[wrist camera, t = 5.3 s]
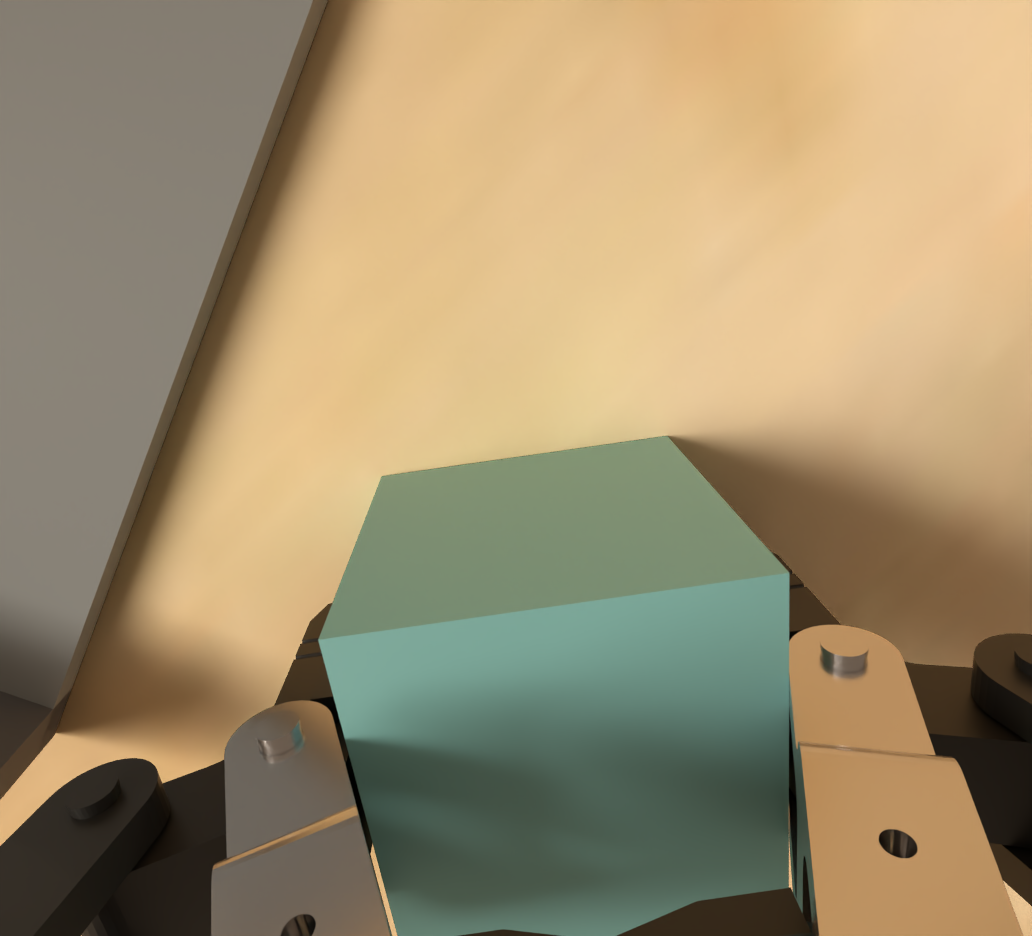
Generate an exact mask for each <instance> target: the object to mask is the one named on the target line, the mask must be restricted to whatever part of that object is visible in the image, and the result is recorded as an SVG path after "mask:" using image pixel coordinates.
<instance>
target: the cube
mask: <svg viewBox="0 0 1032 936" xmlns="http://www.w3.org/2000/svg"><path fill="white" fill-rule="evenodd" d="M318 641H319V645H320V649H321V652H322V656H323V660H324V663H325V667H326V671H327V675H328V678H329V682H330V686H331V690H332V693H333V697H334V701H335V704H336V708H337V712H338V716H339V719H340V723H341V727H342V731H343V734H344V738H345V742H346V745H347V749H348V753H349V757H350V760H351V764H352V768H353V771H354V775H355V779H356V783H357V786H358V790H359V794H360V798H361V801H362V805H363V809H364V812H365V816H366V820H367V824H368V827H369V831H370V835H371V839H372V842H373V846H374V850H375V853H376V857H377V861H378V865H379V868H380V872H381V876H382V879H383V883H384V887H385V891H386V894H387V898H388V902H389V906H390V909H391V913H392V917H393V920H394V924H395V928H396V932H397V935H398V936H459V935H466V934H473V933H480V932H487V931H494V930H501V929H507V930H515V931H524V932H533V933H541V934H550V935H559V936H617V935H619V934H622V933H624V932H626V931H629V930H631V929H633V928H636V927H638V926H640V925H643V924H645V923H647V922H649V921H652V920H654V919H656V918H659V917H661V916H663V915H666V914H668V913H670V912H673V911H675V910H677V909H680V908H682V907H684V906H687V905H689V904H691V903H694V902H696V901H701V900H708V899H715V898H722V897H728V896H735V895H742V894H749V893H756V892H763V891H770V890H777V889H784V888H789V572H788V571H787V570H786V568H785V567H784V566H783V565H782V564H781V563H780V562H779V561H778V560H777V558H776V557H775V556H774V555H773V554H772V553H771V552H770V551H769V549H768V548H767V547H766V546H765V545H764V544H763V543H762V542H761V540H760V539H759V538H758V537H757V536H756V535H755V534H754V533H753V532H752V530H751V529H750V528H749V527H748V526H747V525H746V524H745V523H744V521H743V520H742V519H741V518H740V517H739V516H738V515H737V514H736V512H735V511H734V510H733V509H732V508H731V507H730V506H729V505H728V503H727V502H726V501H725V500H724V499H723V498H722V497H721V496H720V495H719V493H718V492H717V491H716V490H715V489H714V488H713V487H712V486H711V484H710V483H709V482H708V481H707V480H706V479H705V478H704V477H703V475H702V474H701V473H700V472H699V471H698V470H697V469H696V468H695V467H694V465H693V464H692V463H691V462H690V461H689V460H688V459H687V458H686V456H685V455H684V454H683V453H682V452H681V451H680V450H679V449H678V447H677V446H676V445H675V444H674V443H673V442H672V441H671V440H670V438H669V437H668V436H662V437H655V438H648V439H641V440H634V441H627V442H620V443H613V444H606V445H599V446H592V447H585V448H578V449H571V450H564V451H557V452H550V453H543V454H535V455H528V456H521V457H514V458H507V459H500V460H493V461H486V462H479V463H472V464H465V465H458V466H451V467H444V468H437V469H430V470H423V471H416V472H409V473H401V474H394V475H387V476H382V477H381V480H380V482H379V485H378V488H377V490H376V493H375V495H374V498H373V500H372V503H371V506H370V508H369V511H368V513H367V516H366V518H365V521H364V524H363V526H362V529H361V531H360V534H359V536H358V539H357V542H356V544H355V547H354V549H353V552H352V554H351V557H350V559H349V562H348V565H347V567H346V570H345V572H344V575H343V577H342V580H341V583H340V585H339V588H338V590H337V593H336V595H335V598H334V601H333V603H332V606H331V608H330V611H329V613H328V616H327V619H326V621H325V624H324V626H323V629H322V631H321V634H320V637H319V639H318Z"/></svg>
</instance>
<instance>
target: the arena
mask: <svg viewBox="0 0 1032 936" xmlns="http://www.w3.org/2000/svg"><path fill="white" fill-rule="evenodd" d="M327 1H328V0H0V799H1V798H2V797H3V796H4V795H5V793H6V792H7V791H8V790H9V789H10V788H11V786H12V785H13V784H14V783H15V782H16V780H17V779H18V778H19V777H20V776H21V774H22V773H23V772H24V771H25V770H26V768H27V767H28V766H29V765H30V764H31V762H32V761H33V760H34V759H35V758H36V756H37V755H38V754H39V753H40V752H41V751H42V749H43V748H44V747H45V746H46V745H47V743H48V742H49V741H50V740H51V739H52V737H53V736H54V735H55V732H56V729H57V727H58V724H59V721H60V719H61V716H62V713H63V711H64V708H65V705H66V703H67V700H68V697H69V695H70V692H71V689H72V686H73V684H74V681H75V678H76V676H77V673H78V670H79V668H80V665H81V662H82V660H83V657H84V654H85V652H86V649H87V646H88V643H89V641H90V638H91V635H92V633H93V630H94V627H95V625H96V622H97V619H98V617H99V614H100V611H101V609H102V606H103V603H104V600H105V598H106V595H107V592H108V590H109V587H110V584H111V582H112V579H113V576H114V574H115V571H116V568H117V566H118V563H119V560H120V557H121V555H122V552H123V549H124V547H125V544H126V541H127V539H128V536H129V533H130V531H131V528H132V525H133V523H134V520H135V517H136V515H137V512H138V509H139V506H140V504H141V501H142V498H143V496H144V493H145V490H146V488H147V485H148V482H149V480H150V477H151V474H152V472H153V469H154V466H155V463H156V461H157V458H158V455H159V453H160V450H161V447H162V445H163V442H164V439H165V437H166V434H167V431H168V429H169V426H170V423H171V420H172V418H173V415H174V412H175V410H176V407H177V404H178V402H179V399H180V396H181V394H182V391H183V388H184V386H185V383H186V380H187V377H188V375H189V372H190V369H191V367H192V364H193V361H194V359H195V356H196V353H197V351H198V348H199V345H200V343H201V340H202V337H203V335H204V332H205V329H206V326H207V324H208V321H209V318H210V316H211V313H212V310H213V308H214V305H215V302H216V300H217V297H218V294H219V292H220V289H221V286H222V283H223V281H224V278H225V275H226V273H227V270H228V267H229V265H230V262H231V259H232V257H233V254H234V251H235V249H236V246H237V243H238V240H239V238H240V235H241V232H242V230H243V227H244V224H245V222H246V219H247V216H248V214H249V211H250V208H251V206H252V203H253V200H254V197H255V195H256V192H257V189H258V187H259V184H260V181H261V179H262V176H263V173H264V171H265V168H266V165H267V163H268V160H269V157H270V154H271V152H272V149H273V146H274V144H275V141H276V138H277V136H278V133H279V130H280V128H281V125H282V122H283V120H284V117H285V114H286V112H287V109H288V106H289V103H290V101H291V98H292V95H293V93H294V90H295V87H296V85H297V82H298V79H299V77H300V74H301V71H302V69H303V66H304V63H305V60H306V58H307V55H308V52H309V50H310V47H311V44H312V42H313V39H314V36H315V34H316V31H317V28H318V26H319V23H320V20H321V17H322V15H323V12H324V9H325V7H326V4H327Z"/></svg>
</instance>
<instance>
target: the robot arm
mask: <svg viewBox="0 0 1032 936" xmlns="http://www.w3.org/2000/svg"><path fill="white" fill-rule="evenodd" d="M771 553H772V552H771ZM772 554H773V555H774V556H775V557H776V558H777V560H778V561H779V562H780V563H781V564H782V565H783V566H784V567H785V568H786V570H787V571H788V572H789V842H790V857H791V872H792V887H793V892H792V890H791V888H784V889H777V890H770V891H763V892H756V893H749V894H742V895H735V896H728V897H722V898H715V899H708V900H701V901H696V902H694V903H691V904H689V905H687V906H684V907H682V908H680V909H677V910H675V911H673V912H670V913H668V914H666V915H663V916H661V917H659V918H656V919H654V920H652V921H649V922H647V923H645V924H643V925H640V926H638V927H636V928H633V929H631V930H629V931H626V932H624V933H622V934H619V935H617V936H1023V933H1022V931H1021V928H1020V925H1019V923H1018V920H1017V917H1016V915H1015V912H1014V909H1013V907H1012V904H1011V901H1010V899H1009V896H1008V893H1007V890H1006V888H1005V885H1004V882H1003V881H1005V882H1006V883H1007V884H1008V885H1009V886H1010V887H1011V888H1012V889H1013V890H1015V891H1016V892H1017V893H1018V894H1019V895H1020V896H1021V897H1022V898H1023V899H1025V900H1026V901H1027V902H1028V903H1029V904H1030V905H1031V906H1032V635H1030V634H1003V635H997V636H993V637H990V638H987V639H985V640H983V641H982V642H981V643H979V644H978V646H977V647H976V649H975V652H974V660H973V668H966V667H950V666H935V665H922V664H913V663H908V662H904V659H903V657H902V655H901V653H900V652H899V650H898V649H897V648H896V647H895V646H894V645H893V644H892V643H891V642H889V641H888V640H886V639H885V638H883V637H881V636H879V635H877V634H875V633H873V632H870V631H867V630H864V629H860V628H857V627H851V626H845V625H840V624H839V622H838V621H837V620H836V619H835V618H834V617H833V616H832V615H831V614H830V612H829V611H828V610H827V609H826V608H825V607H824V606H823V605H822V604H821V603H820V601H819V600H818V599H817V598H816V597H815V596H814V595H813V594H812V593H811V591H810V590H809V589H808V588H807V587H804V584H803V583H802V582H801V580H800V579H799V578H798V577H797V576H796V575H795V574H792V570H791V569H790V568H789V567H788V566H787V565H786V564H785V563H784V562H783V561H782V559H781V558H780V557H779V556H778V555H776V554H774V553H772ZM331 606H332V603H331V604H328V605H327V606H326V607H325V608H324V609H323V610H322V611H321V612H320V613H319V614H318V615H317V616H316V617H314V618H313V619H312V620H311V621H310V623H309V626H308V628H307V630H306V633H305V635H304V637H303V640H302V644H300V647H299V649H298V651H297V654H296V660H294V661H293V663H292V665H291V668H290V670H289V672H288V675H287V677H286V679H285V682H284V684H283V687H282V689H281V691H280V694H279V696H278V698H277V701H276V703H275V705H274V706H273V707H271V708H268V709H266V710H264V711H262V712H260V713H258V714H257V715H255V716H253V717H252V718H250V719H249V720H248V721H246V722H245V723H244V724H243V725H241V726H240V727H239V728H238V729H237V730H236V732H235V733H234V734H233V735H232V736H231V738H230V740H229V741H228V743H227V746H226V749H225V755H224V760H222V761H221V762H219V763H216V764H214V765H211V766H209V767H207V768H204V769H201V770H198V771H196V772H193V773H190V774H187V775H185V776H182V777H179V778H177V779H174V780H171V781H168V782H166V783H163V784H162V782H161V779H160V776H159V774H158V771H157V769H156V767H155V766H154V765H153V764H152V763H151V762H149V761H147V760H144V759H137V758H130V759H121V760H116V761H112V762H109V763H106V764H103V765H100V766H97V767H95V768H93V769H91V770H89V771H87V772H85V773H83V774H81V775H79V776H77V777H76V778H74V779H73V780H71V781H70V782H68V783H67V784H65V785H64V786H63V787H61V788H60V789H59V790H57V791H56V792H55V793H54V794H53V795H52V796H51V797H50V798H49V799H48V800H47V801H46V802H45V803H44V804H42V805H41V806H40V807H39V808H38V809H37V810H36V811H35V812H34V813H33V814H32V815H31V816H30V817H29V818H28V819H27V820H26V821H25V822H24V823H23V824H22V825H21V826H20V827H19V828H18V829H17V830H16V831H15V832H14V833H13V834H12V835H11V836H10V837H9V838H8V839H7V840H6V841H5V842H4V843H3V844H2V845H1V846H0V936H81V935H82V936H392V934H391V930H390V926H389V922H388V919H387V915H386V911H385V907H384V904H383V900H382V896H381V892H380V889H379V885H378V881H377V877H376V874H375V870H374V866H373V863H372V859H371V855H370V853H371V848H372V839H371V835H370V831H369V827H368V824H367V820H366V816H365V812H364V809H363V805H362V801H361V798H360V794H359V790H358V786H357V783H356V779H355V775H354V771H353V768H352V764H351V760H350V757H349V753H348V749H347V745H346V742H345V738H344V734H343V731H342V727H341V723H340V719H339V716H338V712H337V708H336V704H335V701H334V697H333V693H332V690H331V686H330V682H329V678H328V675H327V671H326V667H325V663H324V660H323V656H322V652H321V649H320V645H319V641H318V639H319V637H320V634H321V631H322V629H323V626H324V624H325V621H326V619H327V616H328V613H329V611H330V608H331ZM459 936H559V935H550V934H541V933H533V932H524V931H515V930H507V929H501V930H494V931H487V932H480V933H473V934H466V935H459Z"/></svg>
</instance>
